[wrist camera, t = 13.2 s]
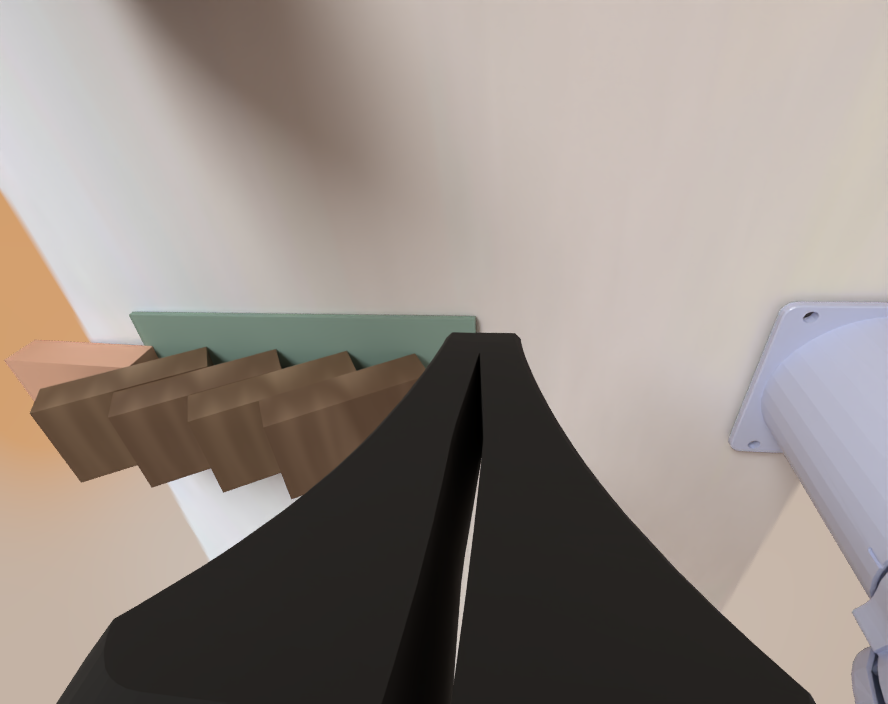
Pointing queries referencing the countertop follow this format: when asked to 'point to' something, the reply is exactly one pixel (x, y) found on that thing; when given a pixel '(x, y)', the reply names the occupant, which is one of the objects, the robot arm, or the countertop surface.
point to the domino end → (71, 361)
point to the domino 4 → (332, 418)
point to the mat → (299, 335)
